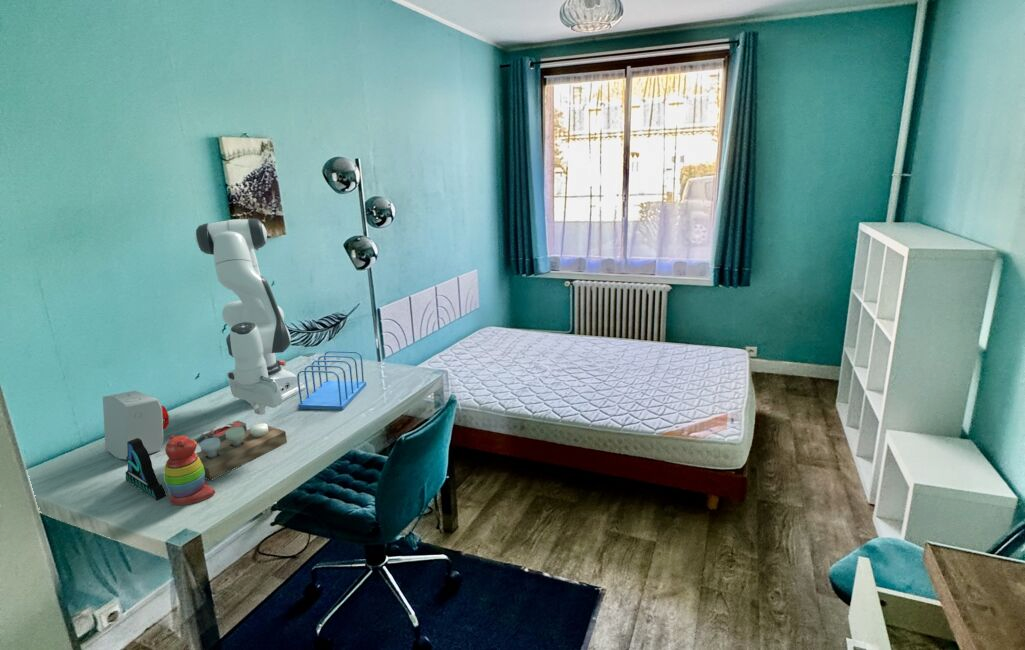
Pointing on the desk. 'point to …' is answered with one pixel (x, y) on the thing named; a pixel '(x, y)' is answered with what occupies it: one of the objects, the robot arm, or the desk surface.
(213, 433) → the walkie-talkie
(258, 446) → the knob panel
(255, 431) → the cream knob
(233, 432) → the sage knob
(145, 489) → the decorative sign
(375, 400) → the desk surface
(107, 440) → the electrical switch box
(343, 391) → the file sorter
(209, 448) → the grey knob
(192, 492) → the stacking bear
